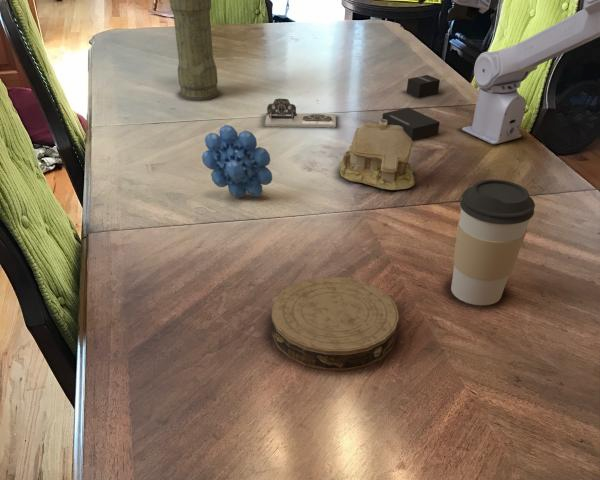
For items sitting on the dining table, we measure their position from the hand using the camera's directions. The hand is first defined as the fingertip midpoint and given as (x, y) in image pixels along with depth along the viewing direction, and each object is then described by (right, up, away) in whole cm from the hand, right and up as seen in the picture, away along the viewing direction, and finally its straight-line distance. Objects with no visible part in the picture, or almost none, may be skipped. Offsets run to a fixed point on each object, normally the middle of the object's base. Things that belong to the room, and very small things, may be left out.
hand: (434, 7), depth 130 cm
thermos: (-52, -11, +14) cm, 55 cm away
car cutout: (-28, -23, +2) cm, 37 cm away
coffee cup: (-4, -68, -45) cm, 82 cm away
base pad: (-6, -26, -1) cm, 27 cm away
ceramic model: (-14, -43, -18) cm, 48 cm away
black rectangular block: (+1, -10, +16) cm, 19 cm away
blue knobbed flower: (-39, -49, -25) cm, 68 cm away
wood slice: (-24, -74, -51) cm, 94 cm away
